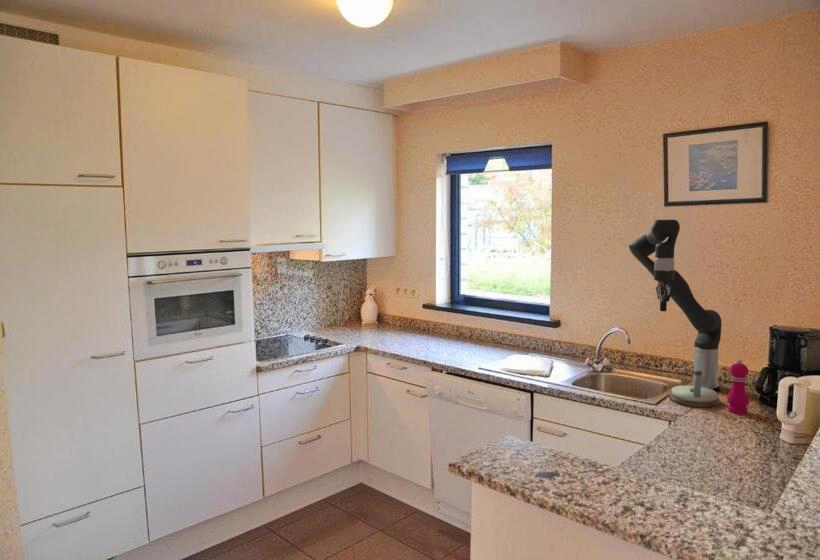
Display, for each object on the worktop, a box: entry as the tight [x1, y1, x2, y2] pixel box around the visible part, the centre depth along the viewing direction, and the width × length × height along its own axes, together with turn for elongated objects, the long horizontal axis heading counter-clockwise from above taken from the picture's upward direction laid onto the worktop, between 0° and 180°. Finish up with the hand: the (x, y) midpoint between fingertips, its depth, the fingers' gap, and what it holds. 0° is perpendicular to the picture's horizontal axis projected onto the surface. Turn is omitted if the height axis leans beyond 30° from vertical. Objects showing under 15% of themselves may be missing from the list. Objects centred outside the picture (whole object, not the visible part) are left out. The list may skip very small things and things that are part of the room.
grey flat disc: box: [668, 391, 720, 409], centre depth 233 cm, size 18×18×2 cm
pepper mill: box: [726, 359, 750, 415], centre depth 218 cm, size 7×7×20 cm
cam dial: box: [670, 370, 718, 403], centre depth 232 cm, size 16×16×12 cm
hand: (663, 311), depth 238 cm, fingers closed
